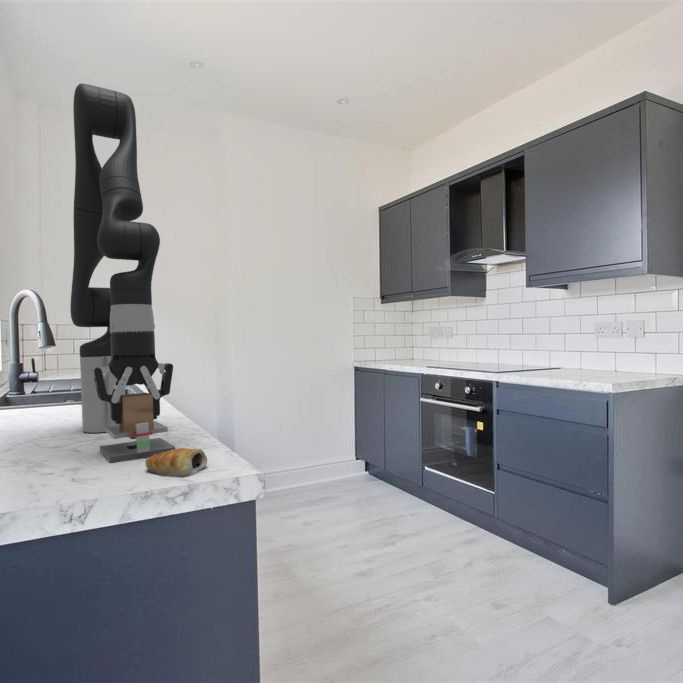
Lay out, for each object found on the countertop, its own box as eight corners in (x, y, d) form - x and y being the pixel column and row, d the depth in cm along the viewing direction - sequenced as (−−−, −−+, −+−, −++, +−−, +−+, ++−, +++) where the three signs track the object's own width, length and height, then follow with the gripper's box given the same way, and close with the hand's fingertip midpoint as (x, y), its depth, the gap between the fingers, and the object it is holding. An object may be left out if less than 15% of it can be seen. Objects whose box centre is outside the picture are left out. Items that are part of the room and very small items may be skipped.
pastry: (135, 475, 76) (134, 451, 76) (162, 464, 82) (162, 442, 82) (187, 479, 73) (187, 453, 73) (212, 467, 79) (211, 444, 79)
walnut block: (119, 427, 91) (118, 395, 91) (147, 423, 94) (146, 392, 94) (124, 431, 87) (123, 397, 87) (153, 427, 90) (152, 394, 90)
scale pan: (105, 437, 92) (105, 427, 92) (155, 430, 97) (155, 421, 97) (116, 447, 83) (115, 435, 83) (170, 439, 88) (170, 428, 88)
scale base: (99, 451, 92) (98, 419, 92) (160, 442, 98) (159, 412, 98) (109, 463, 83) (108, 427, 83) (175, 452, 89) (174, 419, 89)
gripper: (167, 329, 98) (170, 414, 98) (86, 331, 89) (89, 423, 90) (177, 328, 91) (181, 419, 92) (92, 330, 83) (95, 429, 84)
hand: (135, 420), depth 91 cm, fingers open, 5 cm apart
